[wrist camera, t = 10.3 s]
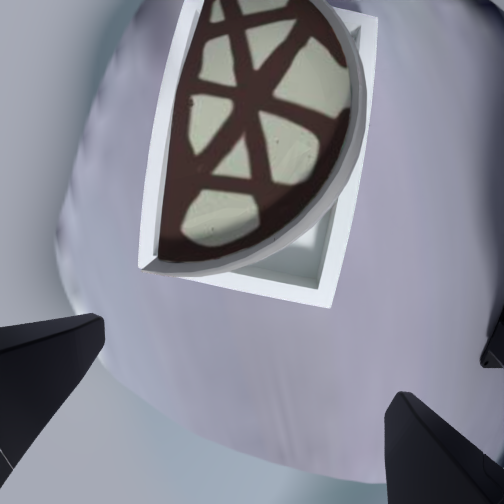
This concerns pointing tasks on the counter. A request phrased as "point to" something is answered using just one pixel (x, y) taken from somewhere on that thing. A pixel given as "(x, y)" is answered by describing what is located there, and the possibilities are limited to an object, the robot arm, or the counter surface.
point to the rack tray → (305, 247)
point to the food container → (258, 133)
